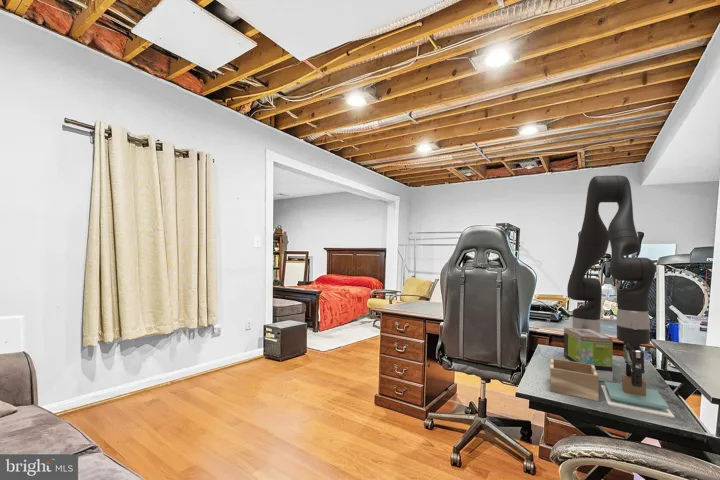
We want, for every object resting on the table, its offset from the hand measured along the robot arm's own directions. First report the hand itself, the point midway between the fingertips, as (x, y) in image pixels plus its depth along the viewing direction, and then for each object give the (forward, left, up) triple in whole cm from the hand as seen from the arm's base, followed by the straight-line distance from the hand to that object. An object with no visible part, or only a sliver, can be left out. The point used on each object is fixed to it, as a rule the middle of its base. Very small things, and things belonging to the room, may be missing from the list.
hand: (633, 381), depth 97 cm
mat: (0, 0, -5) cm, 5 cm away
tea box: (-20, -10, -6) cm, 23 cm away
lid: (0, 0, -5) cm, 5 cm away
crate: (0, -15, -5) cm, 16 cm away
